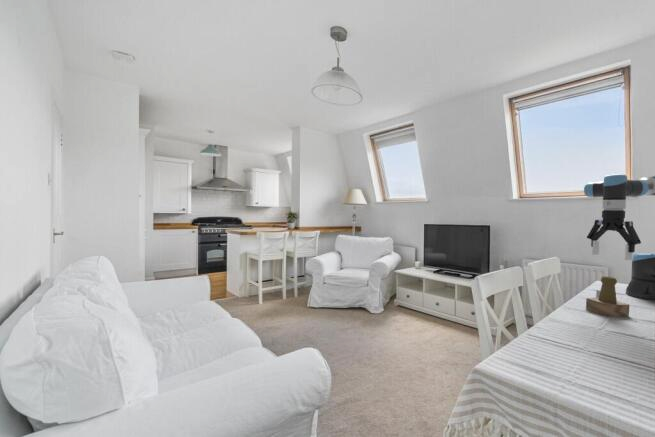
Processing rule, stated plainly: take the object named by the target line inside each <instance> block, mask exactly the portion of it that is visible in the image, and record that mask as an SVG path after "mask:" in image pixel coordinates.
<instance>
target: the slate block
mask: <svg viewBox="0 0 655 437" xmlns="http://www.w3.org/2000/svg"><path fill="white" fill-rule="evenodd" d="M600 291H601V289H596V294H595V298H599V295H600Z"/></svg>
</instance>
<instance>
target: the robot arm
mask: <svg viewBox="0 0 655 437" xmlns="http://www.w3.org/2000/svg"><path fill="white" fill-rule="evenodd" d="M583 192H584V195H585V196H586V197H588V198H602V207H601V208H602V211H601V218H602V219H595V220H594V223H593V226H592V227H591V229H590V231H589V232H588V234H587V235H586V238H587V239H589V240H590V241H591V244H590V246H591V248H592V252H591V254H592V255H599V254H600V240H599V239H600V238H601V237H602V236H603V235H605V233H606V232H608V231H613V232H615V231H616V232H617V233H619V235H620V236H621V237H622V239H623V240H624V241H625V243H627V244H625V251H624V260H625V261H631V275H630V276H631V277H630V281H629V282H628V285H627V287H626V288H625V294H626V295H628V296H631V297H635V298H638V297H639V298H638V299H643V298H645V300H649V299H652V301H655V253H652V252H651V253H646V252H645V253H643V252H642V253H639V252H638V253H634V252H635V248H636V245H640V244H642V240H641V239H640V237H639V236H638V233H637V231H636V229H635V227H634V222H633V221H632V220H631V221H629V220H628V221H625V218H626V211H625V210H626V208H627V207H626V206H627V201H626V200H627V197H629V198H631V197H632V198H638V197H642V196H655V175H651V176H644V177H640V178H638V179H628V176H627V175H626V174H609V175H605V176H604V178H603V181H593V182H588V183H586V184H585V185H584V187H583ZM633 253H634V254H633Z"/></svg>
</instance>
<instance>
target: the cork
mask: <svg viewBox="0 0 655 437" xmlns="http://www.w3.org/2000/svg"><path fill="white" fill-rule="evenodd" d="M600 282H601V288H600V290H601V291H600V295H599V299H598V300H599V301H602V302H606V303H617V301H618V300H617V293H616V285H617V282H618V280H617V278H616V277H613V276H606V275H605V276H602V277H601V278H600Z"/></svg>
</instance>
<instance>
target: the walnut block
mask: <svg viewBox="0 0 655 437" xmlns="http://www.w3.org/2000/svg"><path fill="white" fill-rule="evenodd" d="M598 299H599V298H596V297H586V299H585V300H586V303H585V309H586V310H588V311H591V312H595V313H597V314H600V315H603V316H606V317H608V318H612V317H613V318H614V317H629V316H630V304H628V303H625V302H622V301H618V300H617V303H606V302H602V301H599V300H598Z"/></svg>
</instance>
